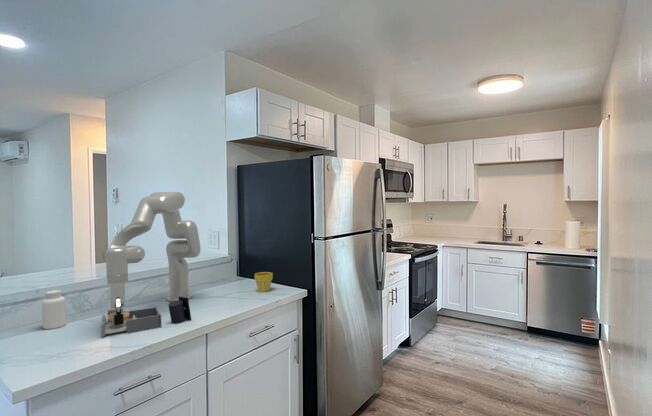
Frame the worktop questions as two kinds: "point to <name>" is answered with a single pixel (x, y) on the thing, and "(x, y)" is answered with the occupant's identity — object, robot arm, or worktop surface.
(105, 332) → the tray
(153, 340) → the worktop surface
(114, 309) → the brown wooden cube
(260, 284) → the plant pot
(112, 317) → the tan domed disc
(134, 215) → the robot arm
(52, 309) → the pill bottle
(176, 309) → the speaker
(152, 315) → the housing
